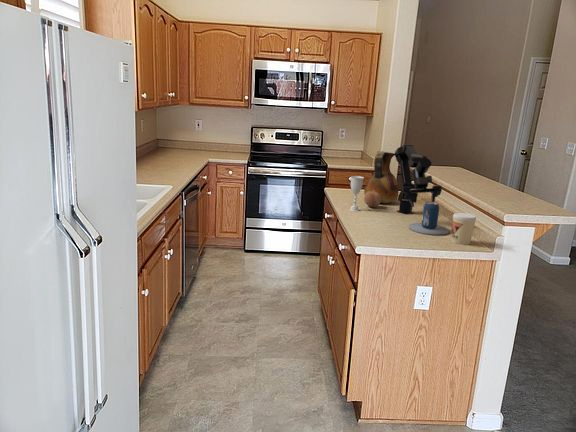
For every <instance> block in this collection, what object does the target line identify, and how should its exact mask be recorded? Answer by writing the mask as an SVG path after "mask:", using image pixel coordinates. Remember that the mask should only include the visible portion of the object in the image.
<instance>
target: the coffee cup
mask: <svg viewBox="0 0 576 432" xmlns="http://www.w3.org/2000/svg"><path fill="white" fill-rule="evenodd" d="M476 220H477V217H476V215H474V214H472V213H468V212H467V213H466V212H455V213H454V214H453V215H452V226H451V227H452V228H451V242H452V243H454V244H458V245H461V246H462V245H464V246H465V245H468V246H469V245H470V244H471V242H472V237H473V233H474V228H475V224H476Z"/></svg>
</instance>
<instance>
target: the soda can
mask: <svg viewBox="0 0 576 432" xmlns="http://www.w3.org/2000/svg"><path fill="white" fill-rule="evenodd" d="M439 212H440V205H439V203H438V202H436V201H434V202H432V201H426V202H425V203H424V205H423V210H422V216H421V217H422V218H421V223H422V227H423V228H425V229H430V230H433V229H435V228H436V227H437V225H438V219H439Z"/></svg>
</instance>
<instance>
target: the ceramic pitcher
mask: <svg viewBox="0 0 576 432" xmlns="http://www.w3.org/2000/svg"><path fill="white" fill-rule="evenodd" d="M376 152H377V153H376V155H375V157H374V162H373V163H374V165H373V167H374V173H373V174H372V175H371V176H369V178H368V180H367V182H366V184H365V186H364V191H363V194H364V196H365V194H366V193H367V192H369V191H372V190H374V191H376V192H377V193H378V194H379V195H380V196H381V202H380V203H382V204H390V203H392V202H395V201H398V196H399V194H400V192H399V183H398V180H397V178H396V177H395V175H394V174H393V173H392V172H391V162H392V158H393V157H395V152H394V153H393V152H389V151H388V152H387V151H384V150H383V151H376Z"/></svg>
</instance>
